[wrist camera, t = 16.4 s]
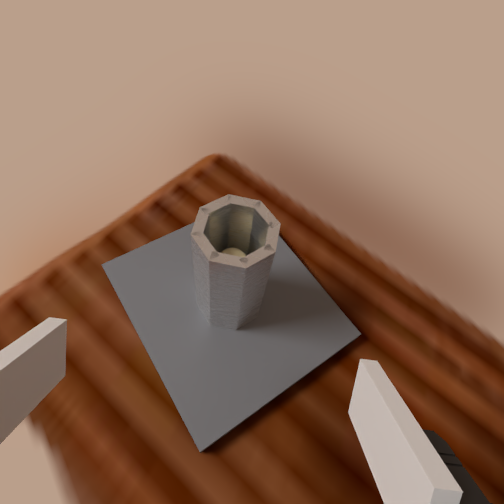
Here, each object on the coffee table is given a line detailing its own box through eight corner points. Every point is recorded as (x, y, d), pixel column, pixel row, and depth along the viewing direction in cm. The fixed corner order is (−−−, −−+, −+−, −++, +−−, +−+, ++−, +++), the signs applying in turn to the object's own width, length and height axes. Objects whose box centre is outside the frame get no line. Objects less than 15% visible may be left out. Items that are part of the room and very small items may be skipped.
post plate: (355, 339, 36) (399, 298, 27) (200, 453, 29) (195, 445, 21) (246, 205, 44) (254, 143, 35) (105, 271, 37) (74, 213, 29)
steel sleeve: (271, 308, 35) (295, 240, 25) (220, 340, 33) (223, 281, 23) (238, 263, 37) (247, 185, 27) (188, 290, 35) (178, 217, 25)
